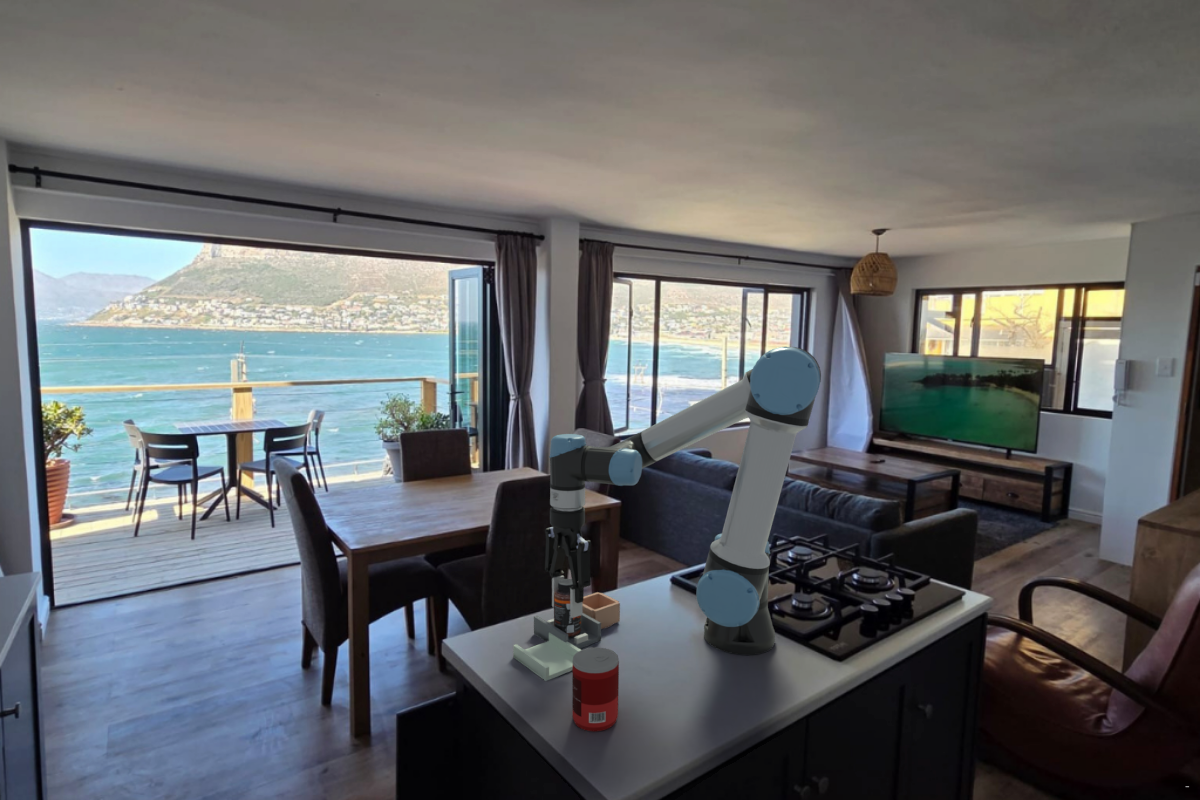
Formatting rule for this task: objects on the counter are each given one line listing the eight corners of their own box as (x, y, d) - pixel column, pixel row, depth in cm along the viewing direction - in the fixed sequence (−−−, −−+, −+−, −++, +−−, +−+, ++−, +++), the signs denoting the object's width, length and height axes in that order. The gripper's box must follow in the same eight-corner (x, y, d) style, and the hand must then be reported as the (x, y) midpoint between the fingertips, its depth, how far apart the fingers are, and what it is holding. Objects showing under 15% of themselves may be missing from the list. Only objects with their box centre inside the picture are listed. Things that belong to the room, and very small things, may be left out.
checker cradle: (600, 640, 137) (600, 622, 136) (565, 654, 130) (565, 635, 130) (568, 621, 145) (568, 605, 145) (533, 634, 139) (533, 616, 139)
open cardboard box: (620, 622, 145) (621, 602, 145) (594, 632, 140) (594, 611, 140) (598, 611, 151) (599, 591, 151) (572, 620, 146) (572, 600, 146)
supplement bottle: (578, 639, 134) (577, 587, 133) (551, 637, 135) (550, 585, 134) (583, 627, 140) (583, 577, 139) (557, 625, 141) (557, 576, 140)
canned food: (627, 717, 109) (627, 656, 108) (596, 739, 103) (596, 674, 102) (594, 700, 114) (594, 642, 113) (563, 720, 108) (563, 658, 107)
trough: (585, 665, 126) (585, 652, 126) (545, 681, 120) (545, 668, 120) (551, 643, 135) (551, 631, 135) (513, 657, 129) (513, 645, 129)
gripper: (528, 500, 140) (528, 600, 142) (580, 519, 125) (580, 631, 128) (555, 495, 145) (555, 592, 147) (609, 513, 130) (608, 620, 132)
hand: (566, 610), depth 137 cm, fingers closed on supplement bottle, 6 cm apart
